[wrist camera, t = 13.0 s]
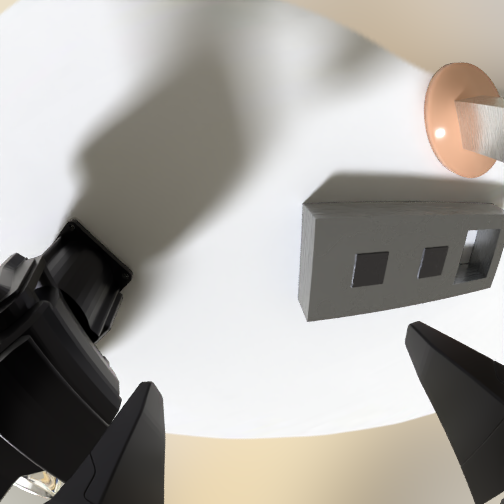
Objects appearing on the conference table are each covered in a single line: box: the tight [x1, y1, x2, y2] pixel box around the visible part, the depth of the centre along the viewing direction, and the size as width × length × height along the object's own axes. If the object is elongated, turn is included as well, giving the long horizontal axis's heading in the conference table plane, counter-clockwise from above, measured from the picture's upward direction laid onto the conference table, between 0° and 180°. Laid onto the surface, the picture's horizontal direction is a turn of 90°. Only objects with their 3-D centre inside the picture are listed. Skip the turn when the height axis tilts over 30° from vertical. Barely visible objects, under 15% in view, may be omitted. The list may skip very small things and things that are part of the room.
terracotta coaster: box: [424, 63, 500, 178], centre depth 18 cm, size 10×10×1 cm
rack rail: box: [298, 202, 504, 322], centre depth 22 cm, size 20×8×3 cm, turn 91°
